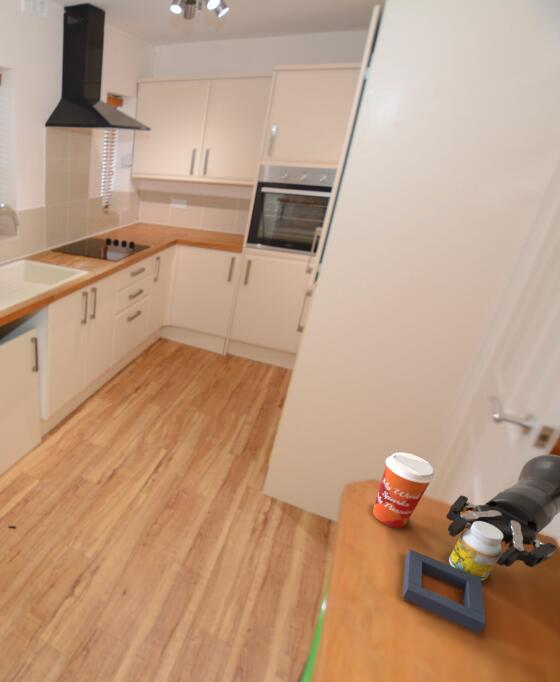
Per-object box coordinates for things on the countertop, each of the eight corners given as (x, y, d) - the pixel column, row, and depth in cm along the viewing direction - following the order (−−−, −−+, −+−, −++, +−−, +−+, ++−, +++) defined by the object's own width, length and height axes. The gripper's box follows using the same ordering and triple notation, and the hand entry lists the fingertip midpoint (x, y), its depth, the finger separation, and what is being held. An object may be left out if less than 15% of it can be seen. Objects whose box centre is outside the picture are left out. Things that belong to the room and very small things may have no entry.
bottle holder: (475, 588, 79) (481, 578, 78) (479, 634, 72) (486, 624, 71) (405, 558, 85) (409, 548, 84) (402, 598, 77) (407, 588, 76)
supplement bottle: (491, 586, 79) (515, 547, 75) (454, 575, 81) (475, 537, 77) (478, 561, 84) (500, 523, 80) (443, 552, 86) (463, 514, 82)
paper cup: (361, 515, 94) (382, 462, 88) (373, 497, 98) (394, 445, 92) (406, 539, 89) (432, 483, 82) (417, 518, 93) (442, 465, 87)
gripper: (562, 554, 81) (520, 595, 74) (466, 500, 93) (421, 532, 86) (583, 523, 78) (541, 563, 71) (481, 472, 90) (435, 502, 83)
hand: (476, 545), depth 79 cm, fingers open, 6 cm apart
